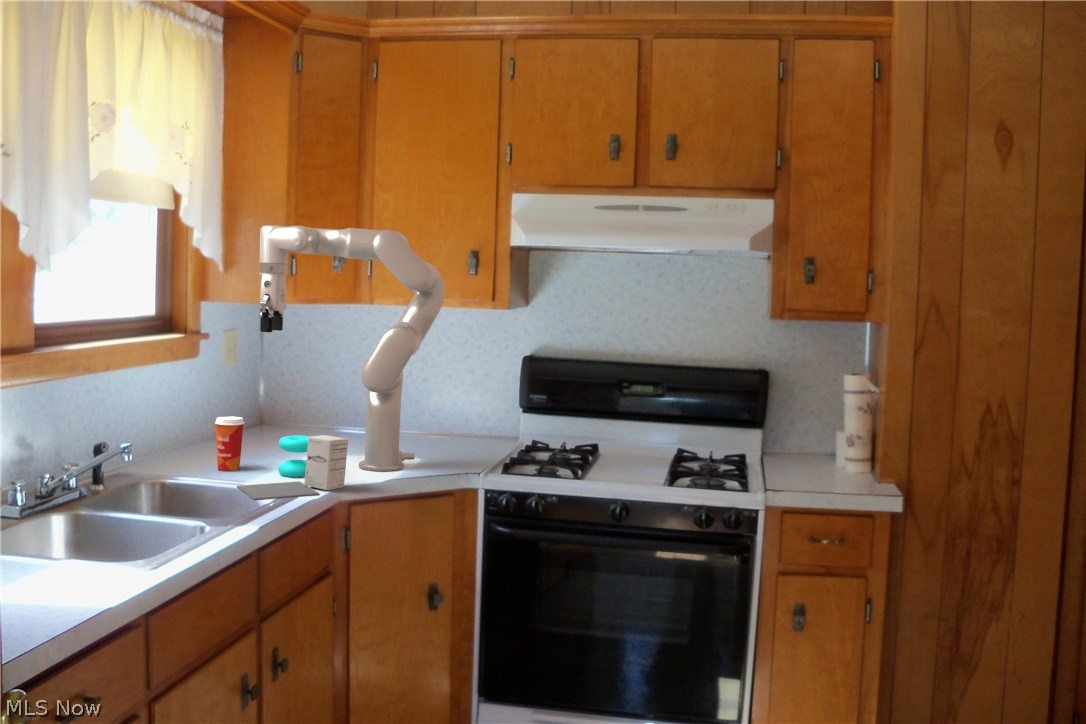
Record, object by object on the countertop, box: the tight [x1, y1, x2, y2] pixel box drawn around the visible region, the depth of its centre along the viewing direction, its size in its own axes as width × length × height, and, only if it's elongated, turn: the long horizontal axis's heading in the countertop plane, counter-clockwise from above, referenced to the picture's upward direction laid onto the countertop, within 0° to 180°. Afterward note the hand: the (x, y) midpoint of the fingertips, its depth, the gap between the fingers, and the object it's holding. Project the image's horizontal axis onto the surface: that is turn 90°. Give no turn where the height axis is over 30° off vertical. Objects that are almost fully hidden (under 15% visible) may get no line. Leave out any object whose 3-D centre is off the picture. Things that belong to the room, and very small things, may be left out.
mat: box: [236, 481, 320, 501], centre depth 244 cm, size 16×15×1 cm
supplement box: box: [304, 434, 349, 491], centre depth 251 cm, size 7×7×13 cm
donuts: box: [277, 434, 311, 478], centre depth 265 cm, size 10×10×10 cm
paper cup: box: [214, 415, 245, 472], centre depth 267 cm, size 8×8×14 cm
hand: (271, 331), depth 278 cm, fingers open, 9 cm apart
